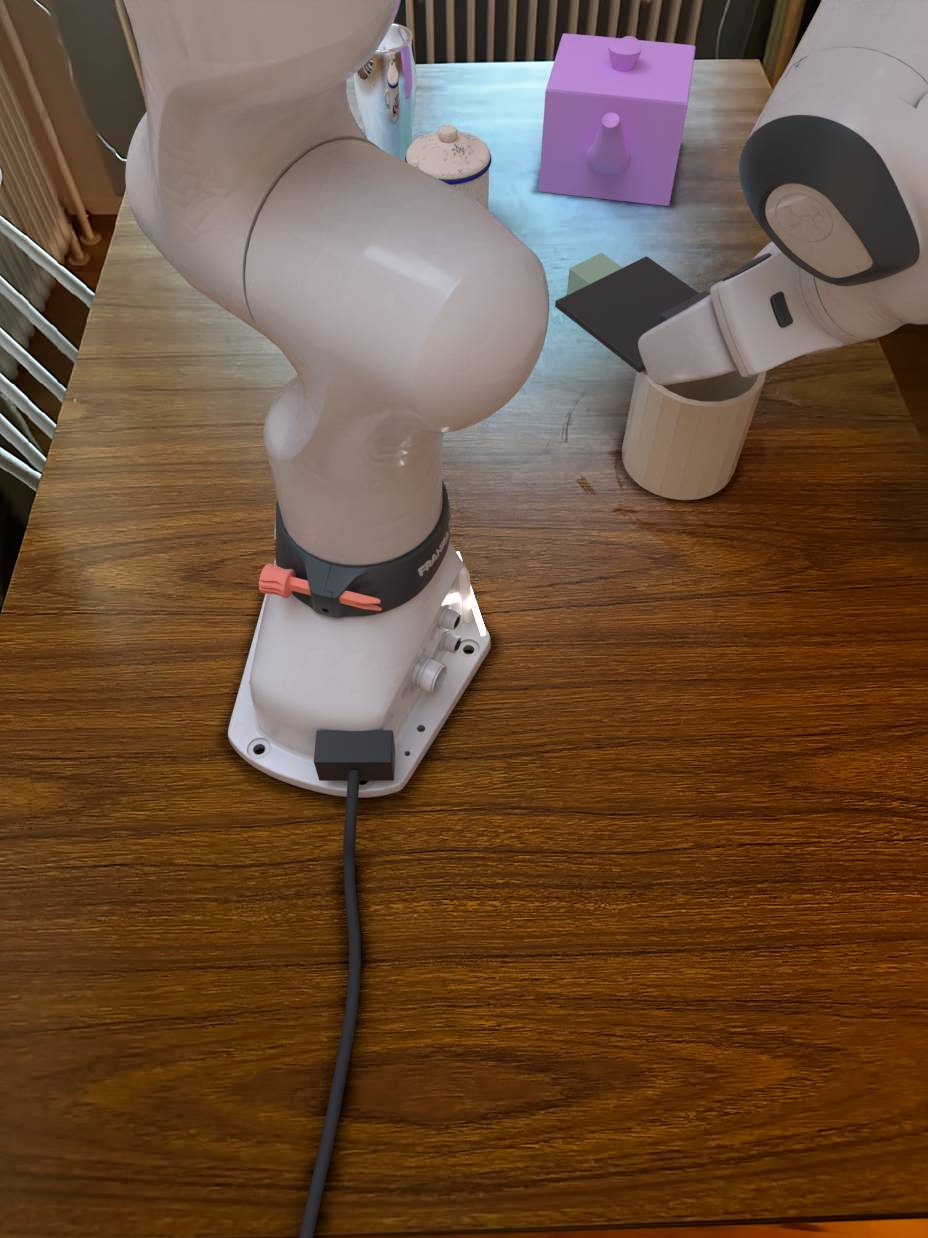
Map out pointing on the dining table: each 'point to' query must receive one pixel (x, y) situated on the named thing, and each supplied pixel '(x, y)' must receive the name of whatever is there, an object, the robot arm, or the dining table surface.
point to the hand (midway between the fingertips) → (695, 325)
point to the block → (590, 272)
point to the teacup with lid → (454, 160)
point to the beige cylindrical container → (688, 433)
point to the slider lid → (628, 306)
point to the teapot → (615, 118)
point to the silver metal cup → (389, 92)
